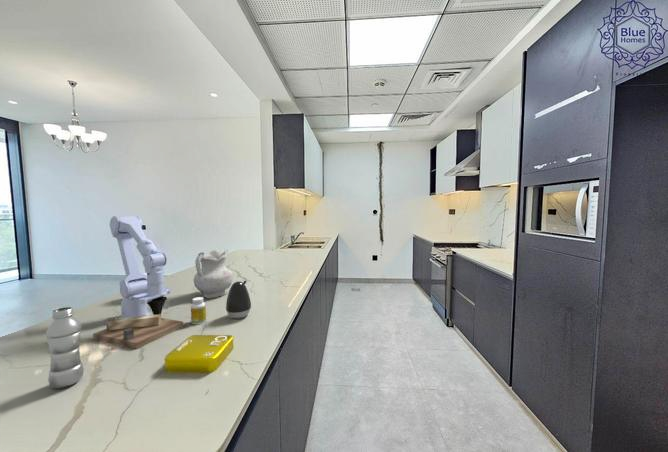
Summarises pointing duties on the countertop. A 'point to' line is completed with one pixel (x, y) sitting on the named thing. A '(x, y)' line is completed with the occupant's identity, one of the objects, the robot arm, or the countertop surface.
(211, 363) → the element tile
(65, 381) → the plastic bottle
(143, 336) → the wooden board
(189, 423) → the countertop surface
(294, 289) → the countertop surface
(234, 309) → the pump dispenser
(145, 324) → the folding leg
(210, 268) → the ceramic pitcher
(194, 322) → the supplement bottle
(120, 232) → the robot arm
